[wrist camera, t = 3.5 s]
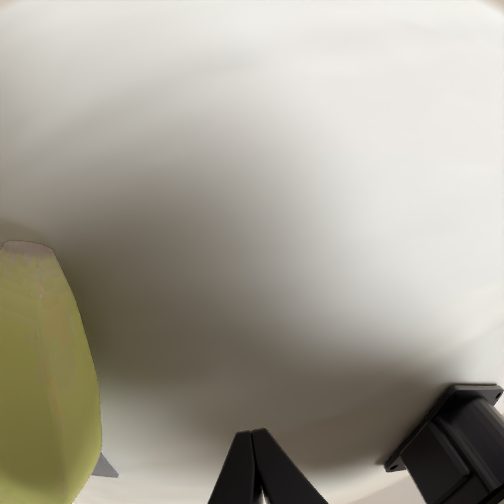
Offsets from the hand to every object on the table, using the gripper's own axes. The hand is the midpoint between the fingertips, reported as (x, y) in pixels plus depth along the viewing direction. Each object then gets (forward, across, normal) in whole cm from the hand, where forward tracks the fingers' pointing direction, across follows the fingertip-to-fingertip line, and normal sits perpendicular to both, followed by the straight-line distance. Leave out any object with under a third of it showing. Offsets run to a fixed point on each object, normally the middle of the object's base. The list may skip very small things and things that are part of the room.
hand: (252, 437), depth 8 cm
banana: (+2, +14, 0) cm, 15 cm away
